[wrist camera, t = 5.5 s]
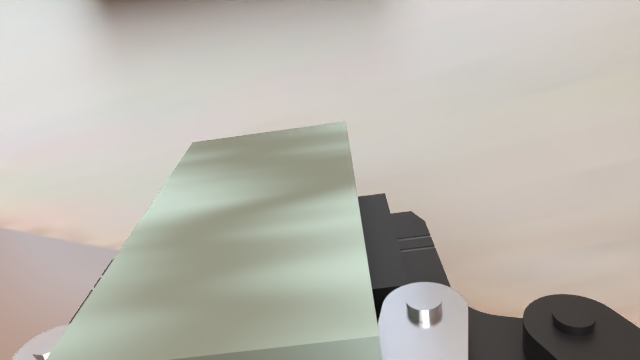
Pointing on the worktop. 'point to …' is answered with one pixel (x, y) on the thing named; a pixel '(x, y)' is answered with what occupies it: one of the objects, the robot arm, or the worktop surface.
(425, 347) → the robot arm
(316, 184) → the peg
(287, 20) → the worktop surface
